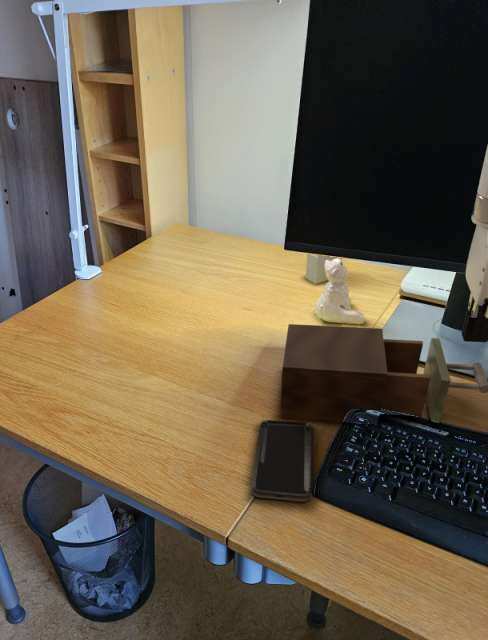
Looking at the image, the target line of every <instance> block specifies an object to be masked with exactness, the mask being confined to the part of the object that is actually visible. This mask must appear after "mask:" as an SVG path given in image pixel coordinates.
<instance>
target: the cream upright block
mask: <svg viewBox="0 0 488 640" xmlns="http://www.w3.org/2000/svg"><path fill="white" fill-rule="evenodd" d="M333 259H337V257H330V256H322V255H313V254H307V253H306V265H305V266H306V268H305V279H307V280H308V281H310V282H312V283H313V284H315V285H317V284H320V283H324V282H328V281H329V280H328V278H327V277H326V272H325V267H324V265H325V261H326V260H329V261H332V260H333ZM339 259H341V260H342V261H343V257H342V258H339Z"/></svg>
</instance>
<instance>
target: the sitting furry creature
mask: <svg viewBox="0 0 488 640" xmlns="http://www.w3.org/2000/svg"><path fill="white" fill-rule="evenodd" d="M324 267H325V272H326V277H327V278H328V280H327V283H326V284H325V286H324V287H323V289H324V290H323V291H322V292H321V293H322V294H321V295H320V297H319V298H318V300H317V301H316V303H315V305H314V307H315V308H314V311H315V314H316V315H317V317H318V318H319V319H322V320H323V321H325V322H327V323H337V324H347V325H363V324H364V322H365V313H363V312H361V311H359V310H358V309H352V308H351V303H352V298H351V297H350V296H349V294H350V291H349V289H348V283H347V281H346V280H347V279H349V274H348V270H347V269H348V266H347V265H345V264H344V262H343V259H342V260H341V259H339V258H337V259H333V260H332V261H329V260H326V261H325V265H324Z"/></svg>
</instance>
